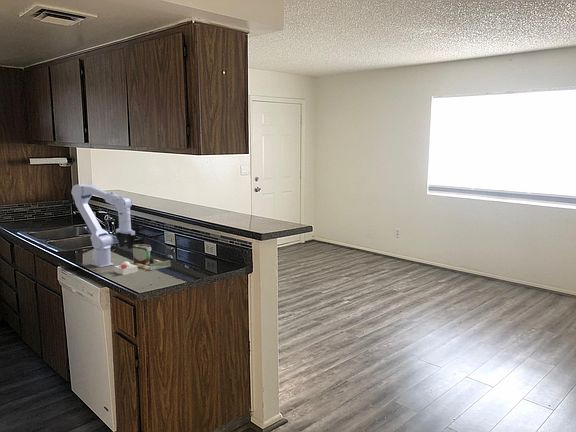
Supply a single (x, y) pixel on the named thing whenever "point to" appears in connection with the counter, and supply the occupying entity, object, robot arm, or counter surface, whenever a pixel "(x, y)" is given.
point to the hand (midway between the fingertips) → (126, 247)
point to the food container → (141, 254)
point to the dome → (127, 264)
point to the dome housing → (125, 269)
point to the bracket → (155, 265)
